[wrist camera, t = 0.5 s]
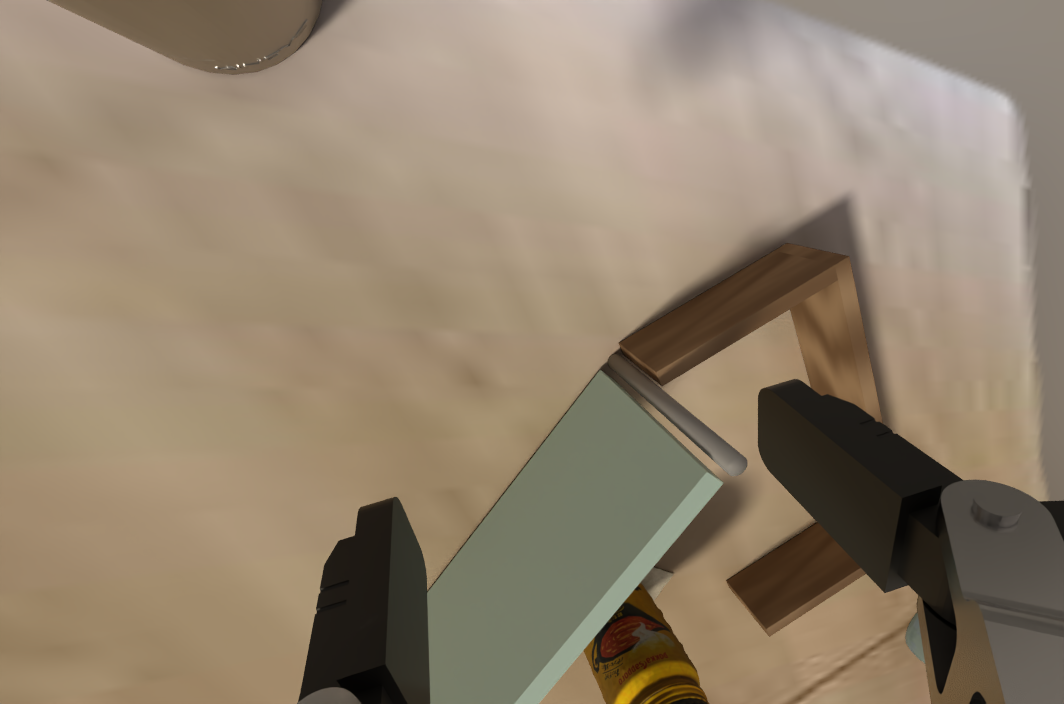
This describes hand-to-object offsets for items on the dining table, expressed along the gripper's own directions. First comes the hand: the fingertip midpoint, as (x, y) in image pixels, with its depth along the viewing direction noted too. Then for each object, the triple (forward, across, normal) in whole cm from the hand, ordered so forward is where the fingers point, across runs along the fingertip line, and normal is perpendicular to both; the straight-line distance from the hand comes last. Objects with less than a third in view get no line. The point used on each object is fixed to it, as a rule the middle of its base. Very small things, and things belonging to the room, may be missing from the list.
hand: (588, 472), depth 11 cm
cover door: (+19, +2, +16) cm, 25 cm away
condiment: (+18, -3, +29) cm, 34 cm away
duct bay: (+20, -16, +20) cm, 32 cm away
